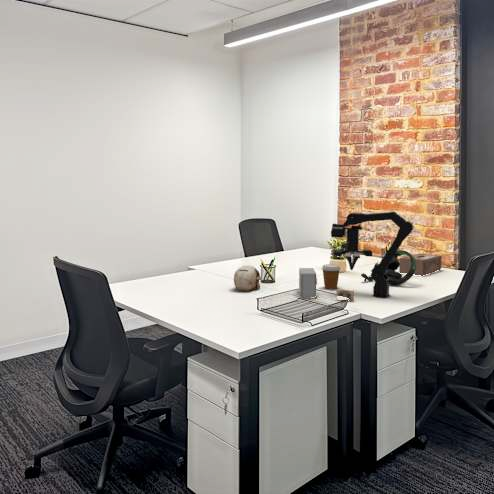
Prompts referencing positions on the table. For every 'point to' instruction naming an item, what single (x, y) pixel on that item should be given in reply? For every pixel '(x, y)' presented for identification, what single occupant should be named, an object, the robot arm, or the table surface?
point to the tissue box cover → (421, 264)
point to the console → (307, 282)
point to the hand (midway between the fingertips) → (351, 270)
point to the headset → (393, 265)
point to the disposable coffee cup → (331, 275)
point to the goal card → (346, 294)
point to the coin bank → (247, 278)
